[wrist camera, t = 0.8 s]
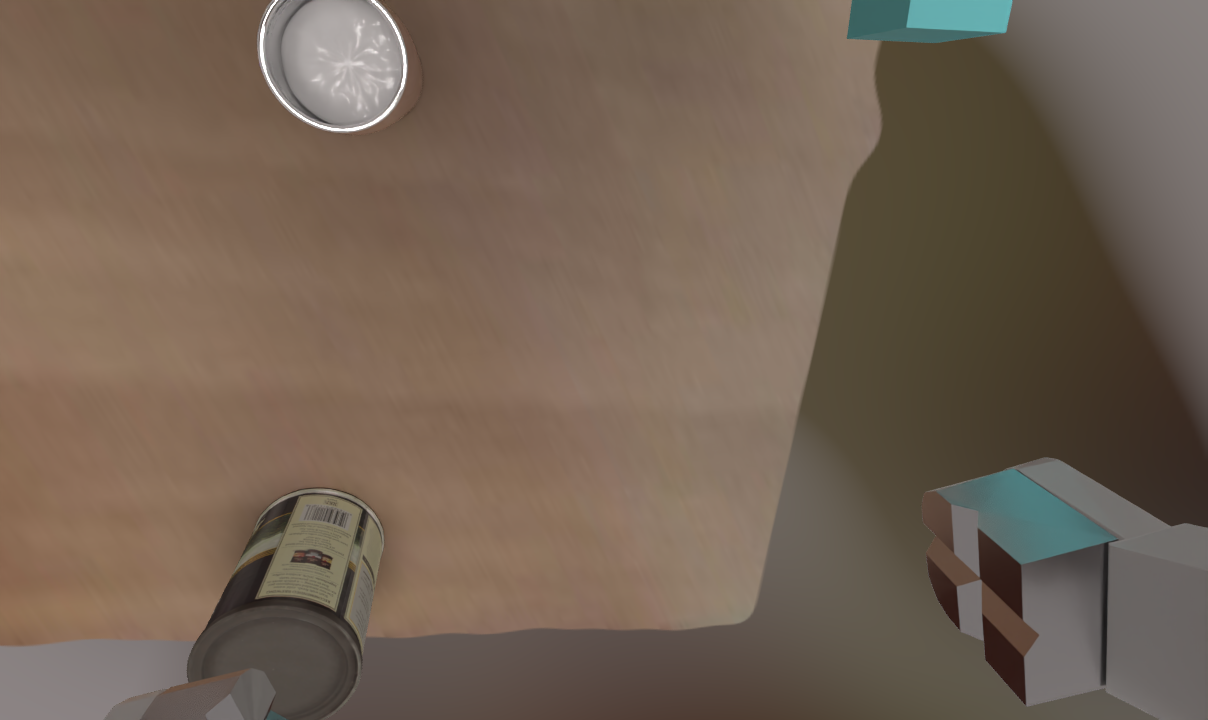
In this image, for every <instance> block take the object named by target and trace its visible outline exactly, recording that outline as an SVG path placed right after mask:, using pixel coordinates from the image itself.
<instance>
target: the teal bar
mask: <svg viewBox="0 0 1208 720" xmlns="http://www.w3.org/2000/svg"><path fill="white" fill-rule="evenodd" d="M1011 5H1012V0H852V5H851V13H850V20H849V27H848V35H847V39H863V40H884V41H885V40H886V41H905V42H906V41H907V42H927V43H938V42H945V41H952V40H959V39H966V38H973V37H979V36H987V35H994V34H1001V33H1006V29H1007V24H1008V20H1009V15H1010V10H1011Z"/></svg>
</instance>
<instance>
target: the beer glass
mask: <svg viewBox="0 0 1208 720" xmlns="http://www.w3.org/2000/svg"><path fill="white" fill-rule="evenodd" d="M257 54H258V60H259V64H260V68H261V71H262V74H263V76H264V79H265V81H266V83H267V85H268V87H269V88H270V90H271V92H272V93H273V95H274V96H275V97H276V99H277V100H278V101H279V102H280V103H281V104H282V105H283V107H284V108H285V109H287V110H288V111H289V112H290V113H291V114H292V115H294V116H295V117H296V118H298V119H299V120H301V121H303V122H304V123H306V124H308V125H310V126H312V127H315V128H317V129H320V130H324V131H328V132H334V133H339V134H345V135H365V134H371V133H375V132H378V131H381V130H383V129H385V128H387V127H389V126H391V125H393V124H394V123H395V122H397V121H398V120H399V119H400V118H401V117H403V116H405V115H406V114H407V113H409V112H410V111H411V110H412V109H413V107H414V106H415V105H416V103H417V101H418V99H419V97H420V95H421V91H422V87H423V71H422V66H421V62H420V60H419V57H418V54H417V50H416V47H415V45H414V42H413V40H412V38H411V36H410V34H409V32H408V30H407V28H406V27H405V25H404V24H403V22H402V21H401V20H400V18H399V17H398V16H397V15H396V14H395V13H394V12H393V11H392V10H391V9H390V8H389V7H388V6H387V5H386V4H385V3H383V2H382V1H381V0H271V2H270V3H269V4H268V6H267V7H266V9H265V11H264V13H263V15H262V18H261V21H260V24H259V28H258V34H257Z"/></svg>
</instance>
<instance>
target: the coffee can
mask: <svg viewBox="0 0 1208 720" xmlns="http://www.w3.org/2000/svg"><path fill="white" fill-rule="evenodd" d="M383 549H384V534H383V528H382V526H381V524H380V521H379V519H378V518H377V516H376V515H375V513H374V512H373V511H372V510H371V509H370V508H369V507H368V506H367V505H366V504H365V503H364V502H362V501H361V500H359V499H358V498H356V497H355V496H352V495H349V494H347V493H344V492H341V491H337V490H332V489H324V488H313V489H304V490H300V491H296V492H293V493H290V494H288V495H285V496H283V497H281V498H279V499H278V500H277V501H275V502H274V503H272V504H271V505H270V506H269V507H268V508H267V509H266V510H265V511H264V512H263V513H262V515H261V516H260V518H259V519H258V521H257V524H256V526H255V529H254V532H253V534H252V536H251V538H250V540H249V542H248V544H247V546H246V548H245V550H244V552H243V554H242V556H241V558H240V560H239V562H238V564H237V566H236V568H235V570H234V573H233V575H232V577H231V579H230V581H229V582H228V584H227V586H226V588H225V590H224V592H223V594H222V596H221V598H220V600H219V602H218V604H217V606H216V608H215V610H214V612H213V614H212V616H211V618H210V620H209V622H208V624H207V626H206V628H205V630H204V631H203V632H202V633H201V635H200V636H199V638H198V639H197V641H196V643H195V645H194V646H193V648H192V650H191V653H190V655H189V659H188V664H187V677H188V682H189V683H191V682H195V681H199V680H203V679H207V678H212V677H216V676H220V675H224V674H228V673H232V672H237V671H241V670H245V669H249V668H253V669H257V670H260V671H264V672H265V674H266V676H267V678H268V679H269V681H270V683H271V685H272V686H273V688H274V690H275V692H276V694H275V698H274V701H273V704H272V707H271V711H273V712H275V713H277V714H279V715H280V716H282V717H284V718H286V719H288V720H324V719H326V718H328V717H330V716H331V715H332V714H334V713H335V712H337V711H338V710H339V709H340V708H341V707H342V706H344V705H345V704H346V703H347V701H348V700H349V699H350V698H351V696H352V695H353V693H354V691H355V690H356V688H357V686H358V683H359V680H360V677H361V670H362V654H363V648H364V643H365V638H366V633H367V627H368V622H369V617H370V611H371V606H372V601H373V596H374V590H375V585H376V580H377V574H378V569H379V564H380V558H381V556H382V552H383Z"/></svg>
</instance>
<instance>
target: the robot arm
mask: <svg viewBox="0 0 1208 720" xmlns="http://www.w3.org/2000/svg"><path fill="white" fill-rule="evenodd" d="M922 517H923V523H924V524H925V525H926V526H927V527H928V528H929V529H930V530H931V531H932V532H933V533H934V534H935V535H936V537H935V538H934V540H933V542H932V544H931V545H930V547H929V549H928V551H927V552H926V560H927V567H928V575H929V578H930V582H931V584H932V587H933V589H934V592H935V595H936V597H937V600H938V601H939V603H940V605H941V606H942V608H943V610H944V611H945V613H946V614H947V616H948V617H949V618H950V620H951V621H952V622H953V623H954V624H955V626H956V627H957V628H958V629H959V630H960V631H961V632H963V633H965V634H968V635H970V636H973V637H975V638H977V639H980V640H982V641H984V650H985V660H986V661H987V662H988V664H989V665H990V666H991V667H992V668H993V669H994V670H995V672H996V673H997V674H998V675H999V676H1000V677H1001V678H1002V680H1003V681H1004V682H1005V683H1006V684H1007V685H1008V686H1009V687H1010V689H1011V690H1012V691H1013V692H1014V693H1015V694H1016V695H1017V697H1018V698H1019V699H1020V700H1021V701H1022V702H1023V703H1024V704H1025V706H1030V705H1035V704H1039V703H1044V702H1048V701H1052V700H1056V699H1060V698H1065V697H1068V696H1073V695H1077V694H1081V693H1086V692H1090V691H1094V690H1098V689H1103V688H1106V692H1107V693H1109V694H1111V695H1113V696H1115V697H1117V698H1119V699H1121V700H1123V701H1124V702H1127V703H1128V704H1130V705H1133V706H1134V707H1136V708H1138V709H1140V710H1142V711H1144V712H1146V713H1148V714H1150V715H1152V716H1154V717H1156V718H1158V719H1160V720H1208V528H1205V527H1200V526H1195V525H1191V524H1186V523H1185V524H1181V525H1177V526H1173V527H1170V526H1169V525H1167V524H1165V523H1164V522H1162V521H1160V520H1159V519H1157V518H1155V517H1154V516H1152V515H1150V514H1149V513H1147V512H1145V511H1144V510H1142V509H1140V508H1139V507H1137V506H1135V505H1134V504H1132V503H1130V502H1129V501H1127V500H1125V499H1124V498H1122V497H1120V496H1119V495H1117V494H1115V493H1114V492H1112V491H1110V490H1108V489H1107V488H1105V487H1103V486H1102V485H1100V484H1099V483H1097V482H1095V481H1094V480H1092V479H1090V478H1089V477H1087V476H1085V475H1084V474H1082V473H1080V472H1079V471H1077V470H1075V469H1074V468H1072V467H1070V466H1069V465H1067V464H1065V463H1063V462H1062V461H1060V460H1057V459H1052V458H1046V457H1045V458H1041V459H1038V460H1035V461H1031V462H1028V463H1025V464H1021V465H1018V466H1015V467H1011V468H1008V469H1005V470H1004V471H1002V472H998V473H995V474H991V475H988V476H984V477H980V478H976V479H972V480H969V481H965V482H961V483H958V484H954V485H950V486H947V487H943V488H939V489H935V490H932V491H928V492H925V493H924V497H923V501H922ZM275 694H276V692H275V690H274V688H273V686H272V685H271V683H270V681H269V679H268V678H267V676H266V674H265V672H264V671H260V670H257V669H253V668H249V669H245V670H241V671H237V672H232V673H228V674H224V675H220V676H216V677H212V678H207V679H203V680H199V681H195V682H191V683H187V684H183V685H178V686H174V687H170V688H169V689H162V690H158V691H154V692H151V693H147V694H143V695H139V696H135V697H131V698H129V699H127V700H125V701H123V702H121V703H119V704H117V705H116V706H114V707H113V708H112V710H111V711H110V712H109V713H108V715H107V716H106V717H105V719H104V720H288V719H286V718H284V717H282V716H280V715H279V714H277V713H275V712H273V711H271V707H272V704H273V701H274V698H275Z"/></svg>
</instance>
